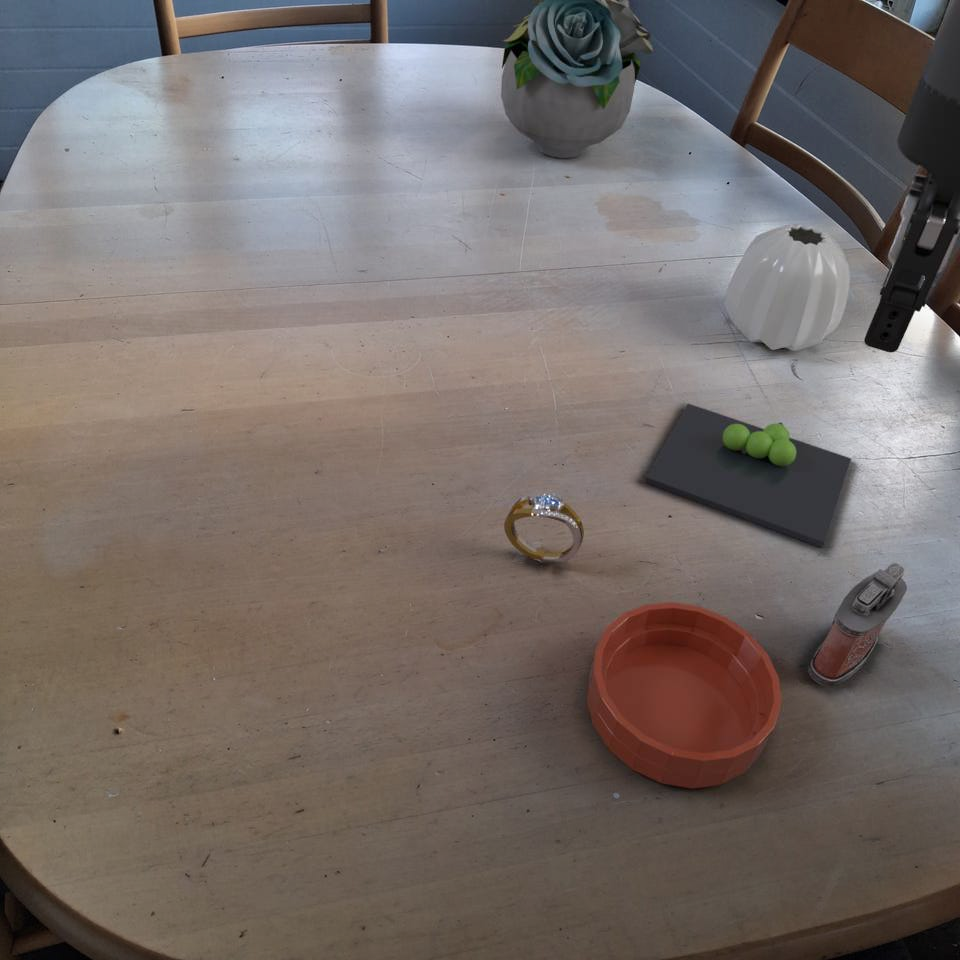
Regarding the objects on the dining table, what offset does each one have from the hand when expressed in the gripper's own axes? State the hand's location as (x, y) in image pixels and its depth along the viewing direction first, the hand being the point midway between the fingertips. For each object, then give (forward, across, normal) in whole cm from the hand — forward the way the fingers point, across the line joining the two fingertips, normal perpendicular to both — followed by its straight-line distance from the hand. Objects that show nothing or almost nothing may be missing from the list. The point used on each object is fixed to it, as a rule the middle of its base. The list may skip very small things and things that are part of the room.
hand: (889, 317), depth 64 cm
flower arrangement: (+28, +77, +55) cm, 99 cm away
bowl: (+28, -18, +4) cm, 34 cm away
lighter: (+28, -6, -7) cm, 30 cm away
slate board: (+28, +13, +6) cm, 32 cm away
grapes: (+26, +14, +6) cm, 30 cm away
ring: (+28, -9, +20) cm, 36 cm away
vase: (+28, +41, +10) cm, 51 cm away
